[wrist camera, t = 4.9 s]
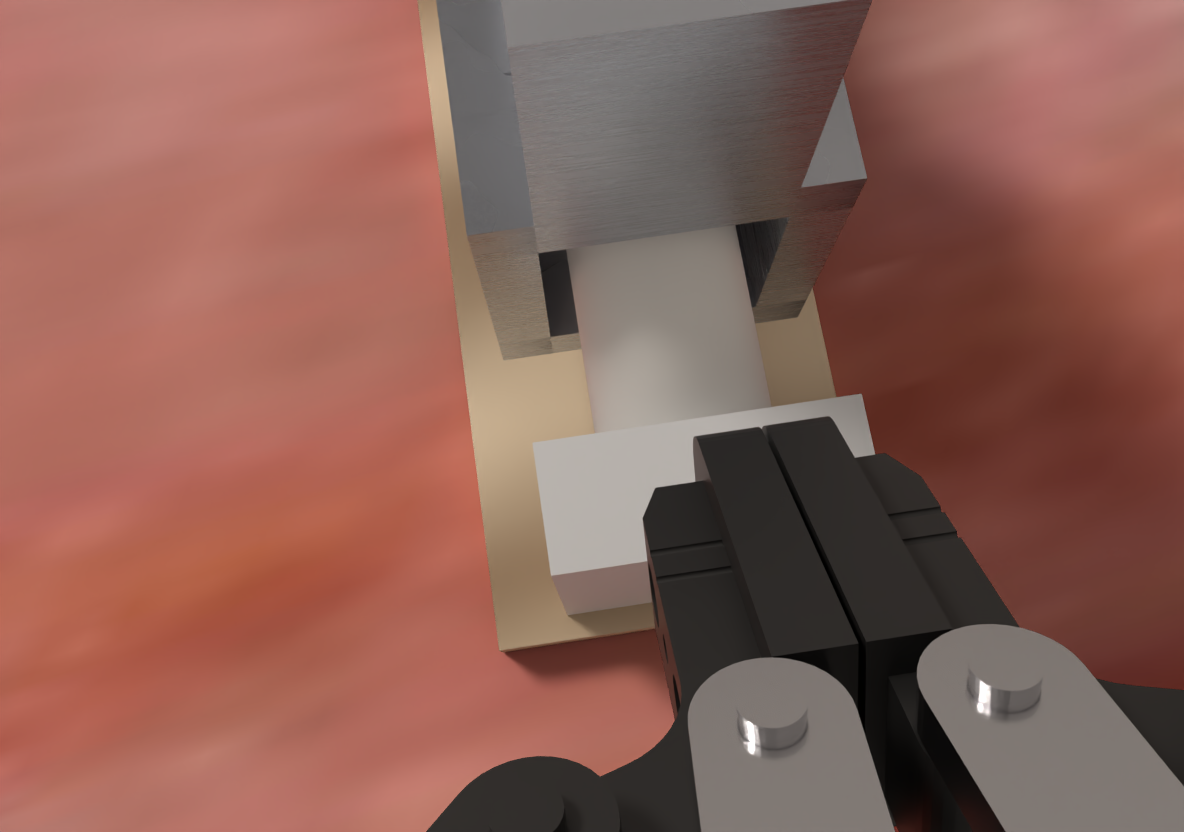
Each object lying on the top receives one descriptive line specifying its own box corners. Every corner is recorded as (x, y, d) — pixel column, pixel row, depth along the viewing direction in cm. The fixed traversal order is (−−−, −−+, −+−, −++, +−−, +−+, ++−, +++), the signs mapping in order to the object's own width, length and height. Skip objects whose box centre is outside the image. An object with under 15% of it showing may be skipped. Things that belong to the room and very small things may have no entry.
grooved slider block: (797, 317, 22) (964, -16, 12) (503, 360, 22) (415, 61, 12) (742, 58, 23) (848, -433, 13) (467, 97, 23) (362, -372, 13)
